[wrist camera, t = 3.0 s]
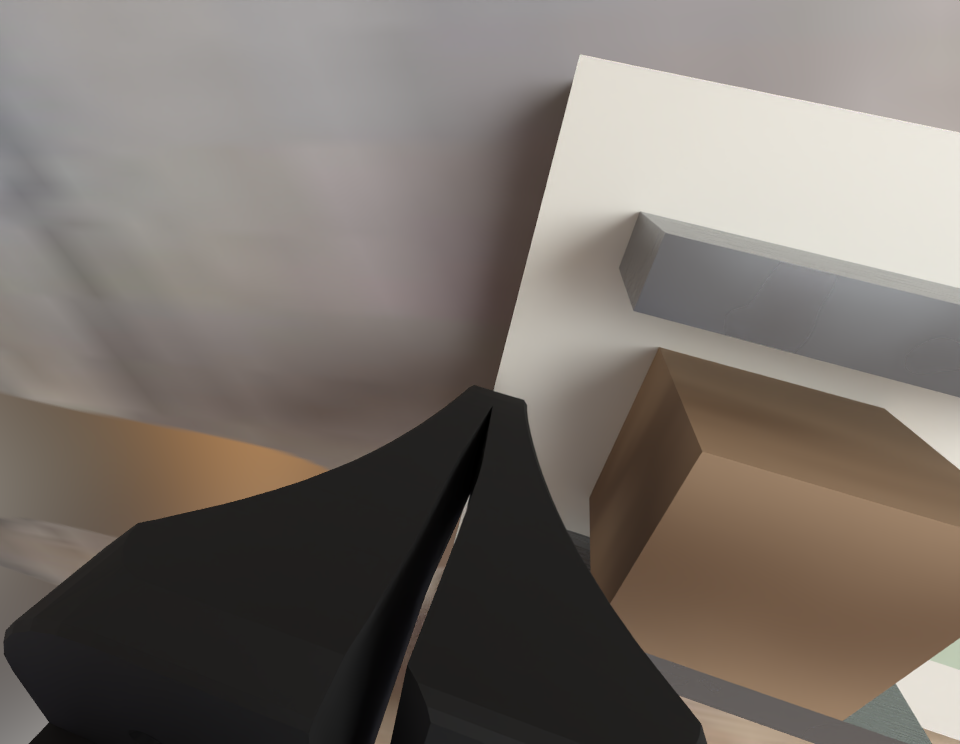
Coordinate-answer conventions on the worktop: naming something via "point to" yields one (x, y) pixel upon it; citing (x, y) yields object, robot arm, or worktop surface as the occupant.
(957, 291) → the channel walls
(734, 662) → the walnut block
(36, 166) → the worktop surface
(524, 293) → the channel board
